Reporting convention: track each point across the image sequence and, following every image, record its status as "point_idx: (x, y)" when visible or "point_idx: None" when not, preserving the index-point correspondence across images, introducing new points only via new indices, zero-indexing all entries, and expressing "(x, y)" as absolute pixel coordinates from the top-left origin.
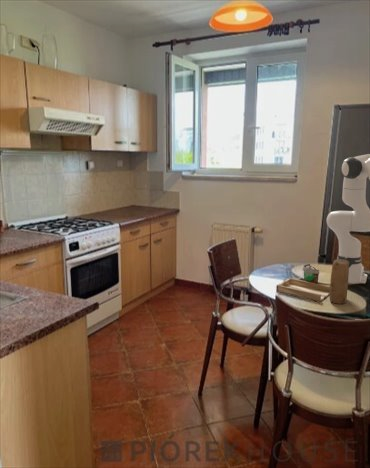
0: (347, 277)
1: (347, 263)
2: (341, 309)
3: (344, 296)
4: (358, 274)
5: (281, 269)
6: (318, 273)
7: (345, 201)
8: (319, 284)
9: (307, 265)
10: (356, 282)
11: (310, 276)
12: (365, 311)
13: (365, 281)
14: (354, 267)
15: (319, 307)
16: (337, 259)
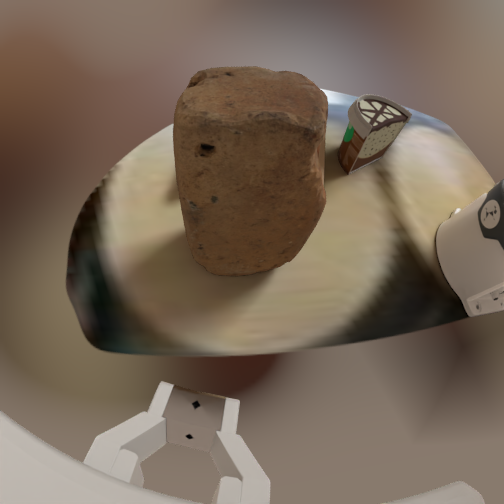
0: (199, 204)
1: (211, 119)
2: (145, 265)
3: (192, 253)
4: (481, 282)
5: (409, 109)
6: (361, 136)
7: None
8: (320, 163)
9: (399, 110)
10: (456, 289)
11: (348, 128)
12: (161, 355)
13: (474, 314)
14: (494, 255)
15: (141, 196)
16: (295, 76)
